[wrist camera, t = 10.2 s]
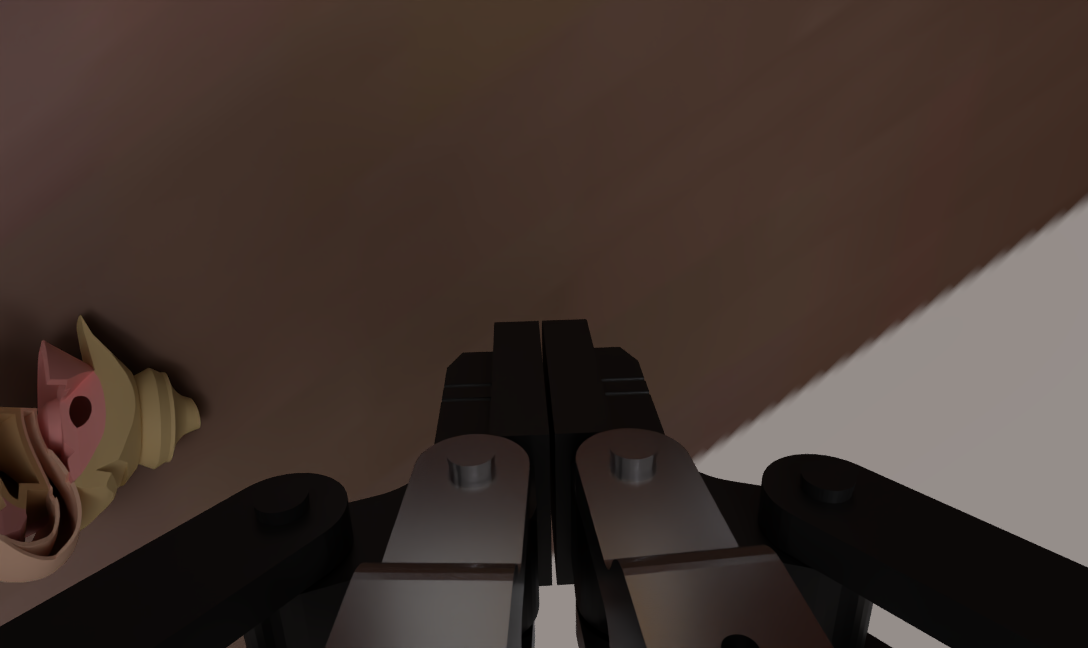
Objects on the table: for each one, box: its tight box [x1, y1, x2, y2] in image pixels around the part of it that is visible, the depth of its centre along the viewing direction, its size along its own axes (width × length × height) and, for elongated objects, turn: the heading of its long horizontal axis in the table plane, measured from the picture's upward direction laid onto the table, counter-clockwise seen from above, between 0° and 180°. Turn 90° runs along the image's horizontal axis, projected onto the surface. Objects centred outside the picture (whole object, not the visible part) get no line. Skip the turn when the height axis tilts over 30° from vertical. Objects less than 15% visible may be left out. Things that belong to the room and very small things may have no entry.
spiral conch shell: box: [0, 315, 201, 582], centre depth 29 cm, size 9×10×10 cm
